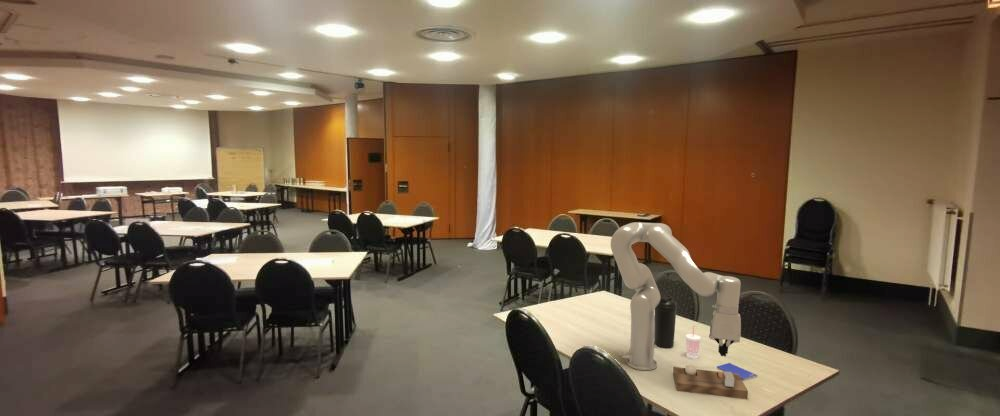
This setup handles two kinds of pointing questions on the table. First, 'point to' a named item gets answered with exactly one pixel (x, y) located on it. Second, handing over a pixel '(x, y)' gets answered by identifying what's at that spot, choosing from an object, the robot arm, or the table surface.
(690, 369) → the cream button
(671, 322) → the water bottle
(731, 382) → the grey block
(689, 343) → the beverage cup
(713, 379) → the panel
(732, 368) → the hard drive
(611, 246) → the robot arm
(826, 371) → the table surface
